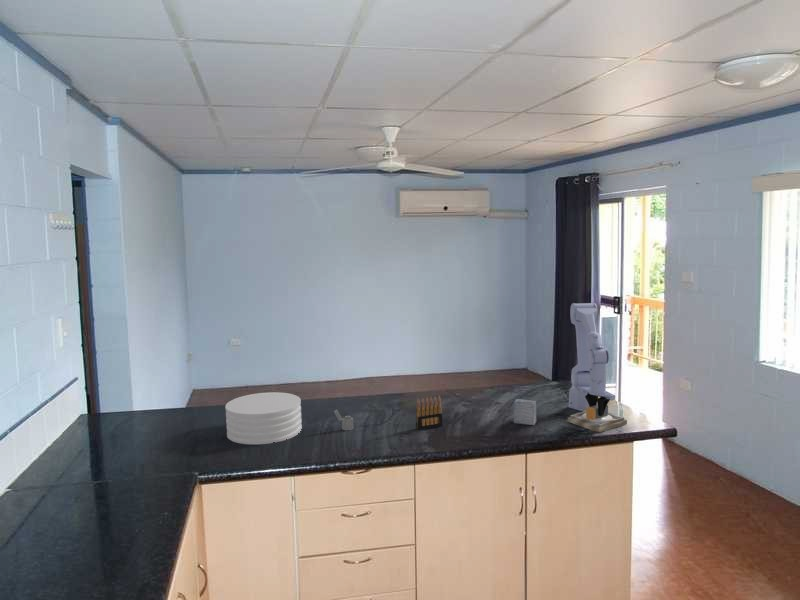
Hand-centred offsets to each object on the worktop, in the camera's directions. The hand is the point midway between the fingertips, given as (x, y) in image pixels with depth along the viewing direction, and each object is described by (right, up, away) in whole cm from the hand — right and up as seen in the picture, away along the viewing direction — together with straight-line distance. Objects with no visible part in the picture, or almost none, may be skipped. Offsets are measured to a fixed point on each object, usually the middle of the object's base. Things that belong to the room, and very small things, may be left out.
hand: (597, 414), depth 225 cm
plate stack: (-128, -7, -1) cm, 128 cm away
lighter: (-98, -6, -1) cm, 98 cm away
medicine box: (-27, -4, +2) cm, 28 cm away
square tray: (0, -3, 0) cm, 3 cm away
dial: (0, -2, 0) cm, 2 cm away
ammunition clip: (-65, -5, 0) cm, 65 cm away
